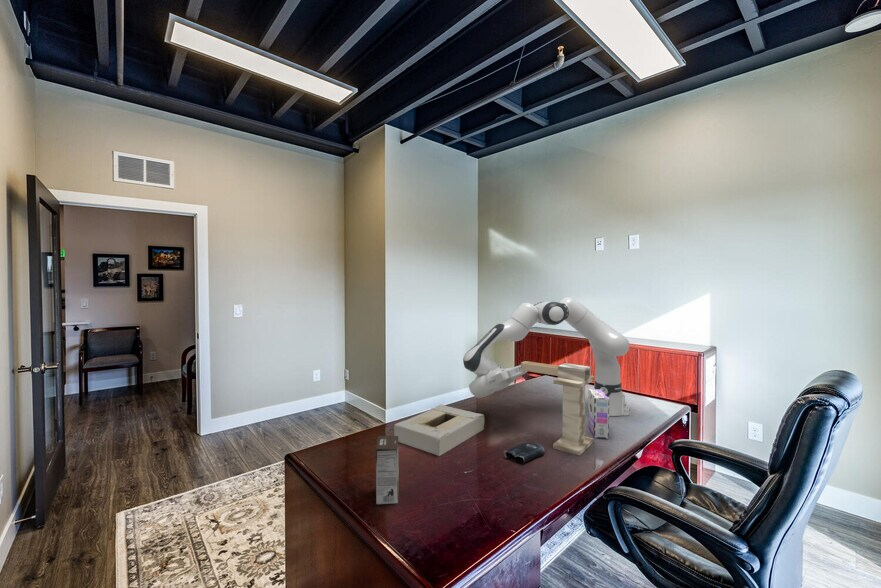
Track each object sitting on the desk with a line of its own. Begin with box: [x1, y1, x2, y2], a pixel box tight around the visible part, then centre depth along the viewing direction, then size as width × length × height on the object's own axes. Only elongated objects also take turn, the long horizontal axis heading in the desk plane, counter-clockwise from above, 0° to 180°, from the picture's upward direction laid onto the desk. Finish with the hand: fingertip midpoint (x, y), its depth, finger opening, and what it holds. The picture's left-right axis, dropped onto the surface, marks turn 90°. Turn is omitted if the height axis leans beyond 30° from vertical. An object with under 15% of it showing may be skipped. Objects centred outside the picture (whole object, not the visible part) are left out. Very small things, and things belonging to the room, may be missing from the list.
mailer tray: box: [520, 360, 559, 377], centre depth 155 cm, size 4×18×3 cm, turn 50°
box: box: [393, 404, 485, 457], centre depth 158 cm, size 23×8×32 cm
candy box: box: [587, 388, 610, 440], centre depth 160 cm, size 14×6×16 cm, turn 168°
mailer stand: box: [552, 362, 595, 456], centre depth 147 cm, size 15×10×30 cm, turn 140°
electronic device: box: [503, 441, 545, 465], centre depth 139 cm, size 9×6×15 cm
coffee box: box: [375, 435, 400, 505], centre depth 113 cm, size 9×6×16 cm
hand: (524, 367), depth 160 cm, fingers open, 8 cm apart
